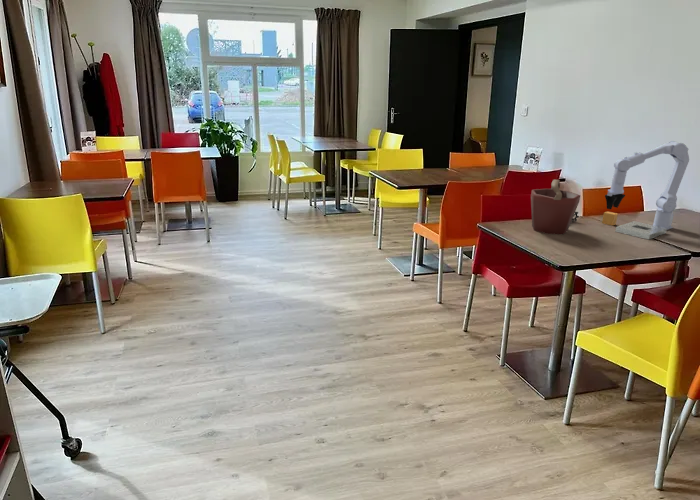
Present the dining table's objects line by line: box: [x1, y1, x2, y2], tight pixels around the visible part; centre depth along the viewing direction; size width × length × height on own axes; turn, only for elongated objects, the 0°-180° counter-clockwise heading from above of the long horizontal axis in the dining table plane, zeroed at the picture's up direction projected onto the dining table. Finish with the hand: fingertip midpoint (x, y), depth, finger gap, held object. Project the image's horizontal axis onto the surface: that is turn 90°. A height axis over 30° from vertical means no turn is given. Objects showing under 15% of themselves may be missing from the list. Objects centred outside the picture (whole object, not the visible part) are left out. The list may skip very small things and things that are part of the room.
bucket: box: [530, 179, 581, 235], centre depth 250 cm, size 24×22×25 cm
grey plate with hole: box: [615, 220, 668, 240], centre depth 254 cm, size 20×16×2 cm
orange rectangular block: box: [601, 211, 619, 227], centre depth 267 cm, size 4×6×6 cm
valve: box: [571, 211, 580, 222], centre depth 268 cm, size 7×7×12 cm
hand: (612, 208), depth 265 cm, fingers open, 7 cm apart
